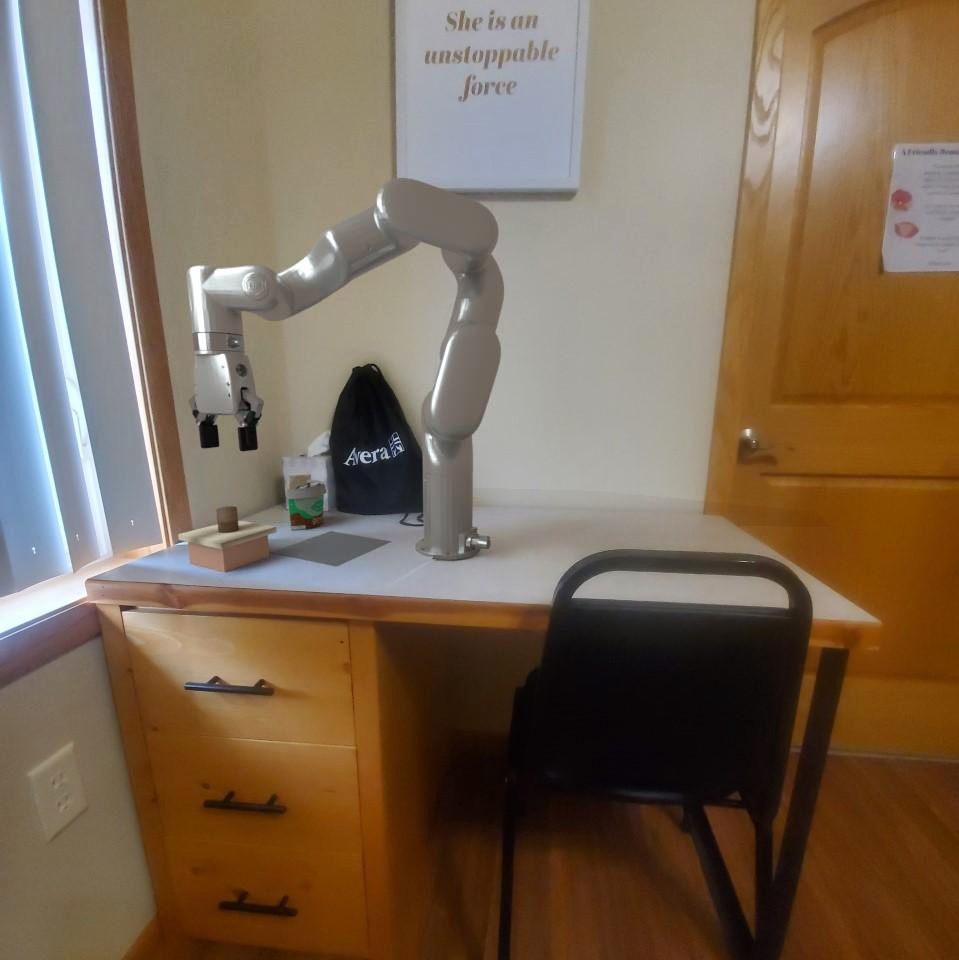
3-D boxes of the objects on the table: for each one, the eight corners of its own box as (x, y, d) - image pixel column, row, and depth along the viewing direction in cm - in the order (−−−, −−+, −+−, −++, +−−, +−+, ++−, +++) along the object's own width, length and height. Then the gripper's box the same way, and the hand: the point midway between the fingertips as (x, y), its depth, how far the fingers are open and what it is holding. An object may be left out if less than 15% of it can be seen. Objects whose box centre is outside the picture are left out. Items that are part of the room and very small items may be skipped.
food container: (317, 535, 103) (315, 489, 101) (288, 535, 103) (285, 489, 101) (335, 520, 115) (333, 479, 113) (310, 520, 115) (307, 479, 113)
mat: (391, 544, 97) (391, 541, 97) (336, 569, 83) (336, 566, 83) (330, 533, 104) (330, 531, 104) (270, 555, 90) (270, 552, 90)
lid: (276, 532, 88) (274, 505, 87) (221, 549, 78) (219, 519, 77) (235, 524, 92) (233, 499, 92) (178, 539, 83) (175, 511, 82)
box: (290, 521, 114) (287, 475, 112) (288, 516, 118) (285, 472, 116) (313, 518, 117) (311, 473, 115) (310, 514, 120) (308, 470, 118)
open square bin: (269, 559, 88) (267, 532, 87) (225, 575, 80) (222, 546, 79) (235, 551, 92) (233, 526, 91) (190, 566, 84) (187, 539, 83)
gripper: (275, 346, 80) (282, 449, 83) (206, 350, 87) (215, 444, 90) (235, 342, 73) (245, 454, 76) (164, 347, 80) (175, 448, 83)
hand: (229, 449), depth 83 cm, fingers open, 9 cm apart
